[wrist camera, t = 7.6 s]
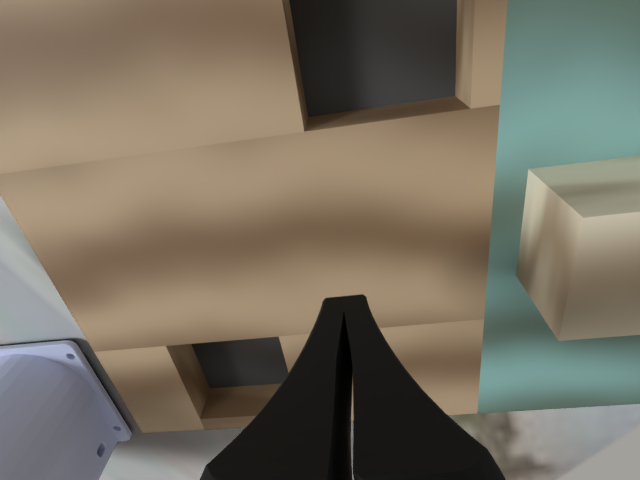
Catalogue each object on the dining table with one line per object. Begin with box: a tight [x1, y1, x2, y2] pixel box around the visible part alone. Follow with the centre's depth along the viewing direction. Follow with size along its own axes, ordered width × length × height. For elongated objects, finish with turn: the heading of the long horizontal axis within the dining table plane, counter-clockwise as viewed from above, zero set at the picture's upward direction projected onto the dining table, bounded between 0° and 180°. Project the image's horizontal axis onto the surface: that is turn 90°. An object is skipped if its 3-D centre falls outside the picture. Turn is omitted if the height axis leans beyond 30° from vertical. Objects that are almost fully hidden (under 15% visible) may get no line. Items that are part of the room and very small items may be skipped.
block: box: [516, 156, 640, 341], centre depth 15 cm, size 5×5×4 cm
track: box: [0, 0, 640, 433], centre depth 18 cm, size 24×30×4 cm
